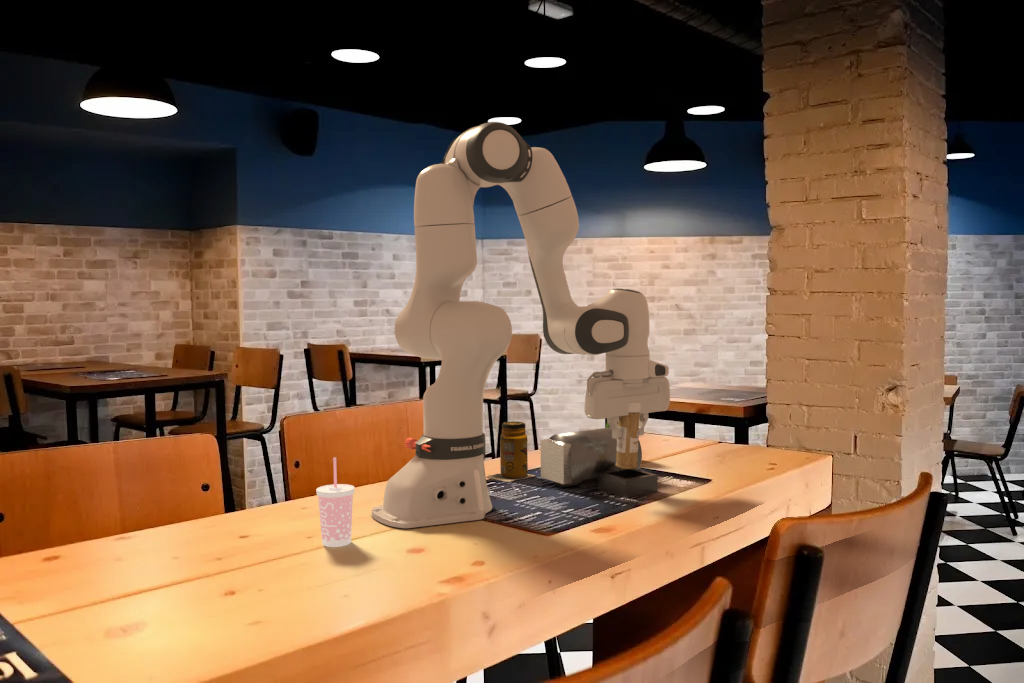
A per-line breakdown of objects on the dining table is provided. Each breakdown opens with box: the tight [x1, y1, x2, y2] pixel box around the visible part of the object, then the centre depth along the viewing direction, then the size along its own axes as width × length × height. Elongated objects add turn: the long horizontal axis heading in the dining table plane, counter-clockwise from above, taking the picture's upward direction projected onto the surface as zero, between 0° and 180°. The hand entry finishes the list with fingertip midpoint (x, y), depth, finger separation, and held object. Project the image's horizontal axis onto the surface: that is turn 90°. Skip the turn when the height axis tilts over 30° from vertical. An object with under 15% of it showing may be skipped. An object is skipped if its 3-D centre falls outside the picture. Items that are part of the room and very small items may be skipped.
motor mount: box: [540, 427, 659, 499], centre depth 172 cm, size 23×21×11 cm
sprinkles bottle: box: [616, 403, 641, 469], centre depth 166 cm, size 5×5×13 cm
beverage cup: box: [315, 457, 355, 548], centre depth 133 cm, size 6×6×14 cm
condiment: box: [486, 421, 537, 483], centre depth 181 cm, size 7×8×12 cm
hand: (628, 436), depth 166 cm, fingers closed on sprinkles bottle, 4 cm apart
